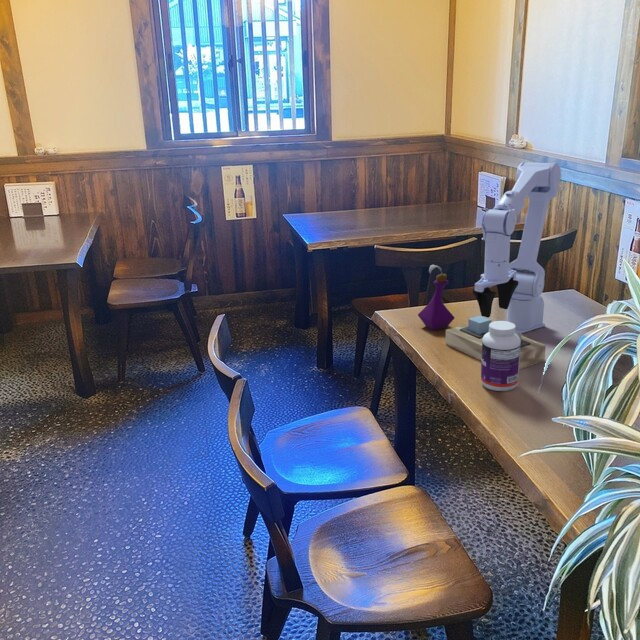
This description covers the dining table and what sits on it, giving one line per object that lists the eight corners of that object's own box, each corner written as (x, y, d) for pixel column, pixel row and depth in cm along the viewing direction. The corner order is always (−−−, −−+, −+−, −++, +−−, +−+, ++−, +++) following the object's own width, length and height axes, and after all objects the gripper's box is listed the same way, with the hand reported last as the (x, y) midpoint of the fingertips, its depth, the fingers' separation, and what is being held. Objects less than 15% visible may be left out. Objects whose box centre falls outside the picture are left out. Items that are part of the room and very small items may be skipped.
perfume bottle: (439, 320, 178) (440, 259, 172) (454, 328, 172) (456, 266, 166) (417, 325, 176) (417, 264, 170) (431, 333, 169) (432, 270, 163)
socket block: (479, 333, 168) (480, 318, 166) (544, 360, 150) (545, 343, 148) (445, 344, 162) (445, 328, 161) (508, 373, 144) (509, 356, 143)
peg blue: (479, 330, 161) (480, 315, 160) (490, 335, 158) (491, 319, 157) (468, 334, 160) (468, 318, 158) (479, 339, 156) (479, 323, 155)
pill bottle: (483, 375, 144) (485, 317, 139) (519, 379, 141) (523, 320, 136) (478, 390, 137) (480, 330, 132) (516, 395, 134) (519, 333, 129)
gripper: (500, 250, 157) (497, 301, 162) (464, 263, 148) (463, 316, 153) (525, 255, 152) (521, 307, 156) (489, 268, 143) (487, 323, 148)
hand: (494, 312), depth 154 cm, fingers open, 7 cm apart
